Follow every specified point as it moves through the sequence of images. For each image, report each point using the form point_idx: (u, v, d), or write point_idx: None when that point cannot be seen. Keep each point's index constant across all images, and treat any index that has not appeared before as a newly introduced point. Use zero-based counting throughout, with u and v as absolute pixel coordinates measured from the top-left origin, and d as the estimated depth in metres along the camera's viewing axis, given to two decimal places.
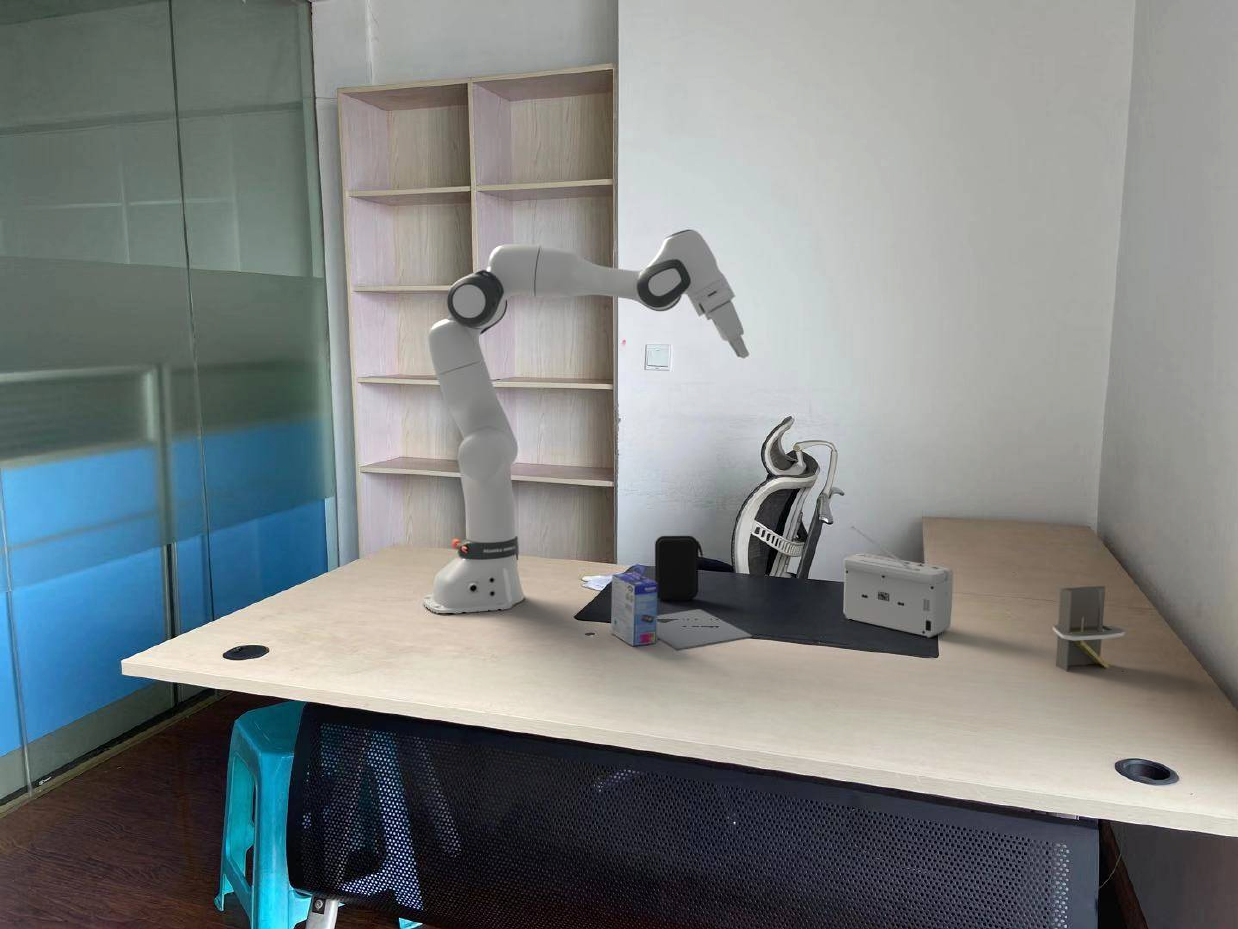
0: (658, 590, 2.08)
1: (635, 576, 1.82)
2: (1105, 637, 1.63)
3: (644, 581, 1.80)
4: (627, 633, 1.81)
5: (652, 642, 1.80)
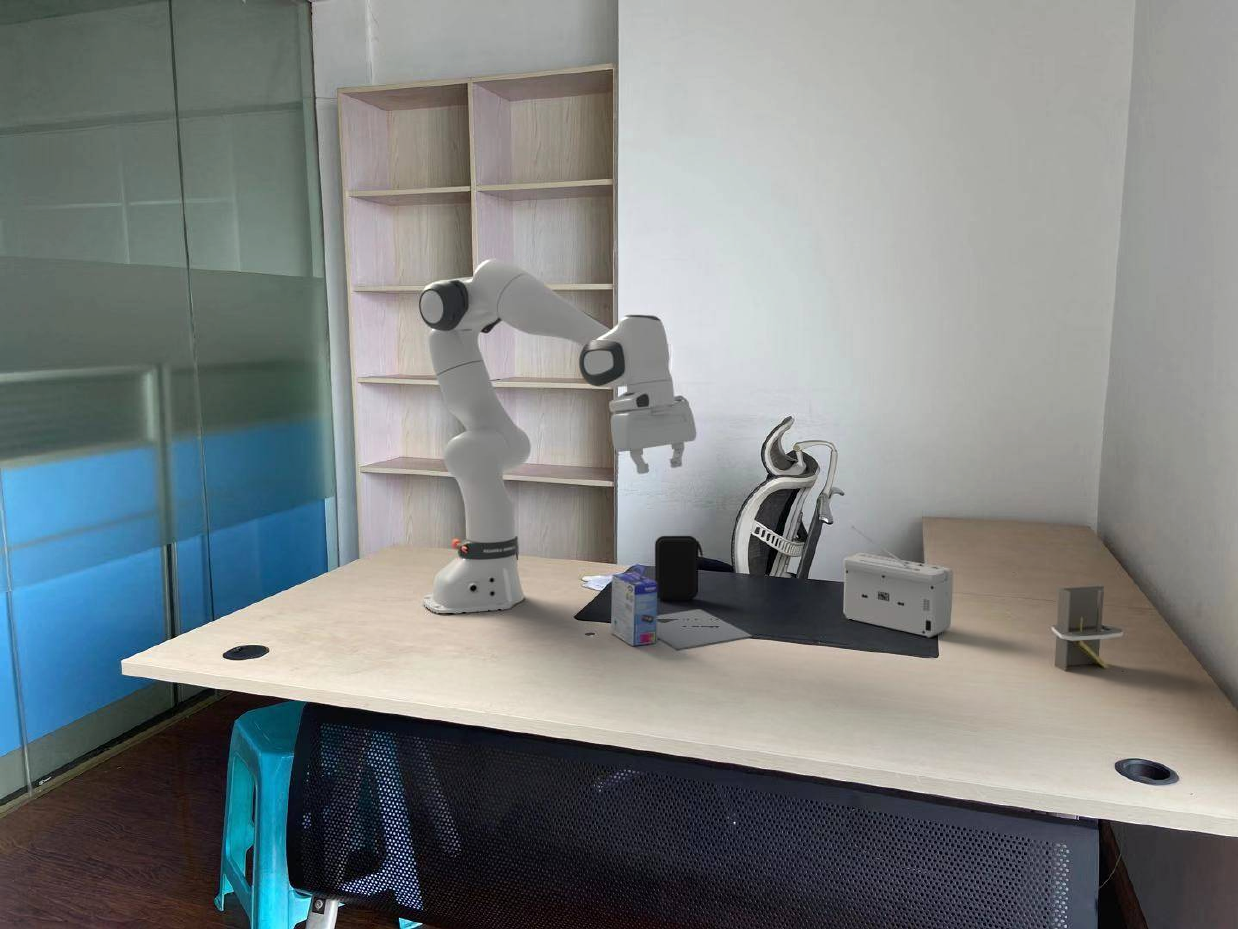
0: (658, 590, 2.08)
1: (635, 576, 1.82)
2: (1104, 637, 1.63)
3: (644, 581, 1.80)
4: (627, 633, 1.81)
5: (652, 642, 1.80)
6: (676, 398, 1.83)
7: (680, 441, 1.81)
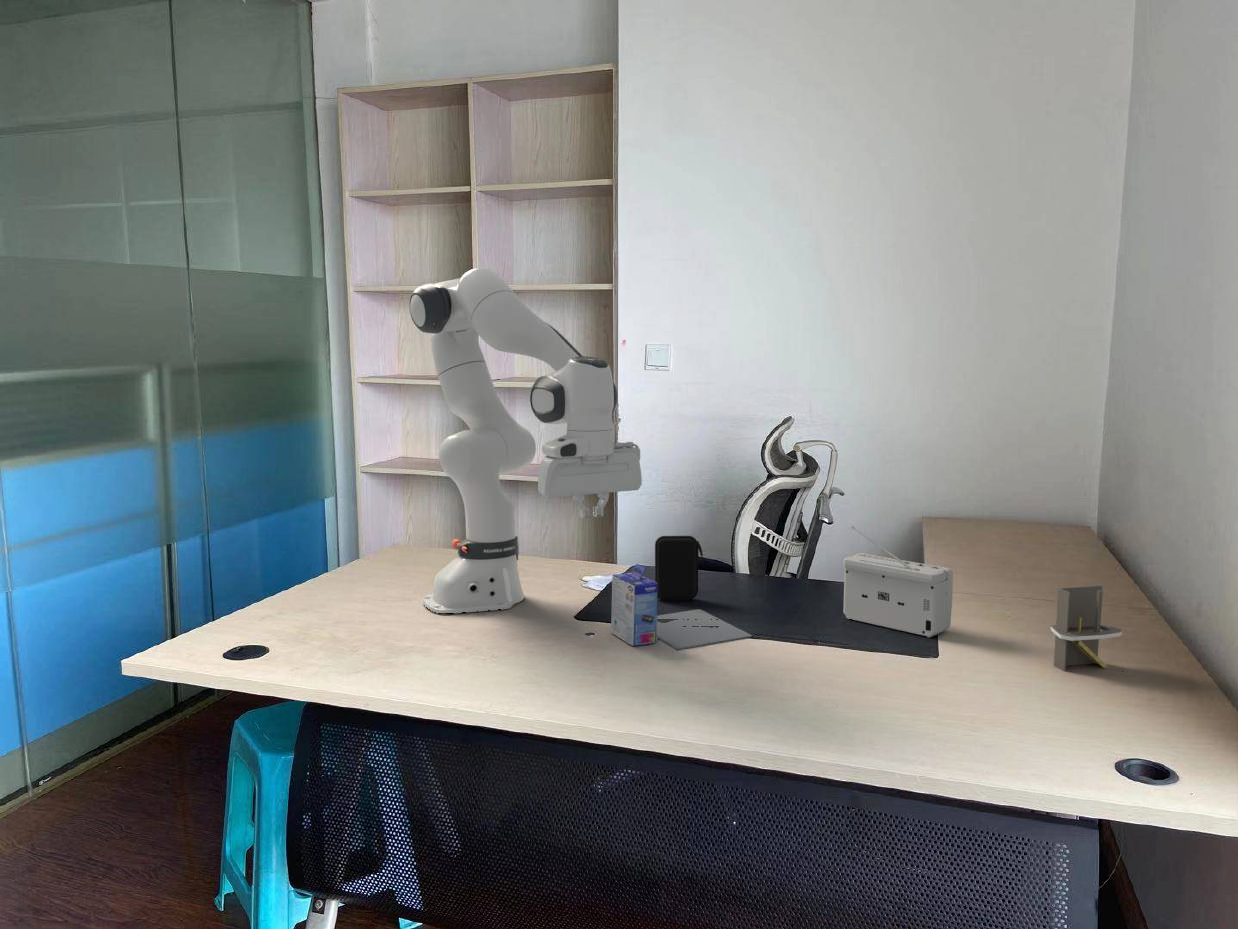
0: (658, 590, 2.08)
1: (635, 576, 1.82)
2: (1103, 637, 1.63)
3: (644, 581, 1.80)
4: (627, 633, 1.81)
5: (652, 642, 1.80)
6: (623, 445, 1.77)
7: (618, 490, 1.76)
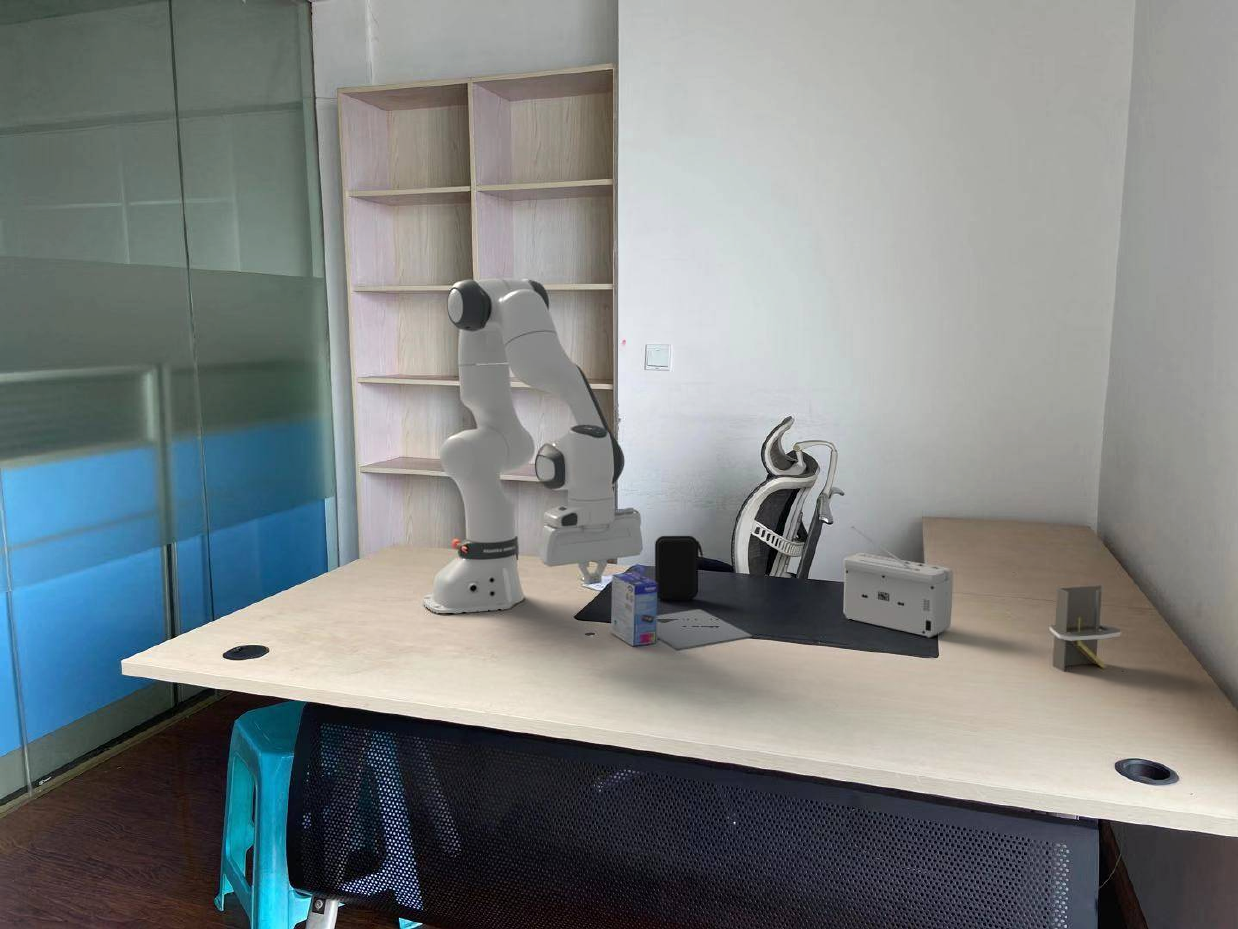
0: (658, 590, 2.08)
1: (635, 576, 1.82)
2: (1102, 637, 1.63)
3: (644, 581, 1.80)
4: (627, 633, 1.81)
5: (652, 642, 1.80)
6: (623, 511, 1.79)
7: (619, 556, 1.78)
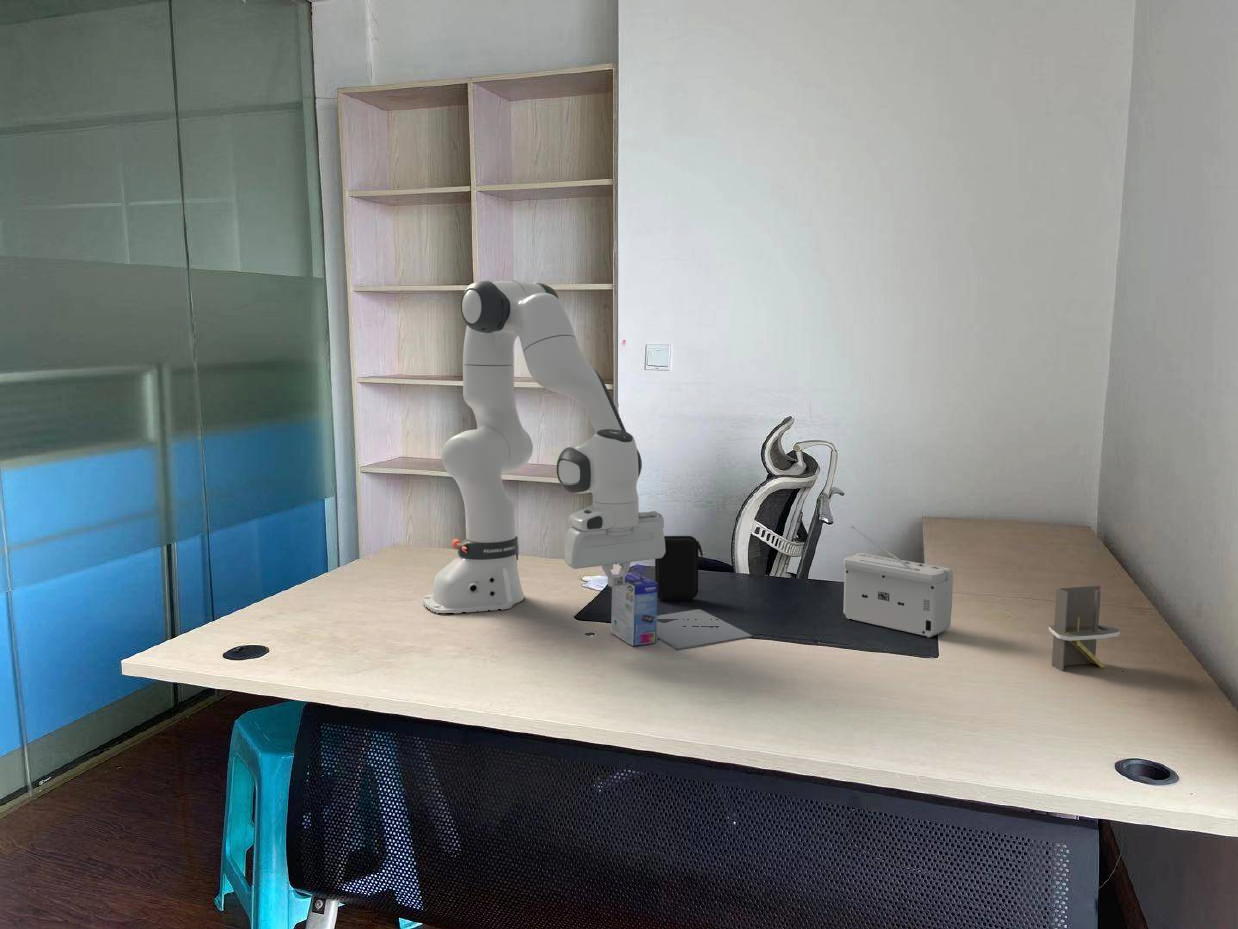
0: (658, 590, 2.08)
1: (635, 576, 1.82)
2: (1101, 637, 1.63)
3: (644, 581, 1.80)
4: (627, 633, 1.81)
5: (652, 642, 1.80)
6: (647, 515, 1.81)
7: (642, 559, 1.80)
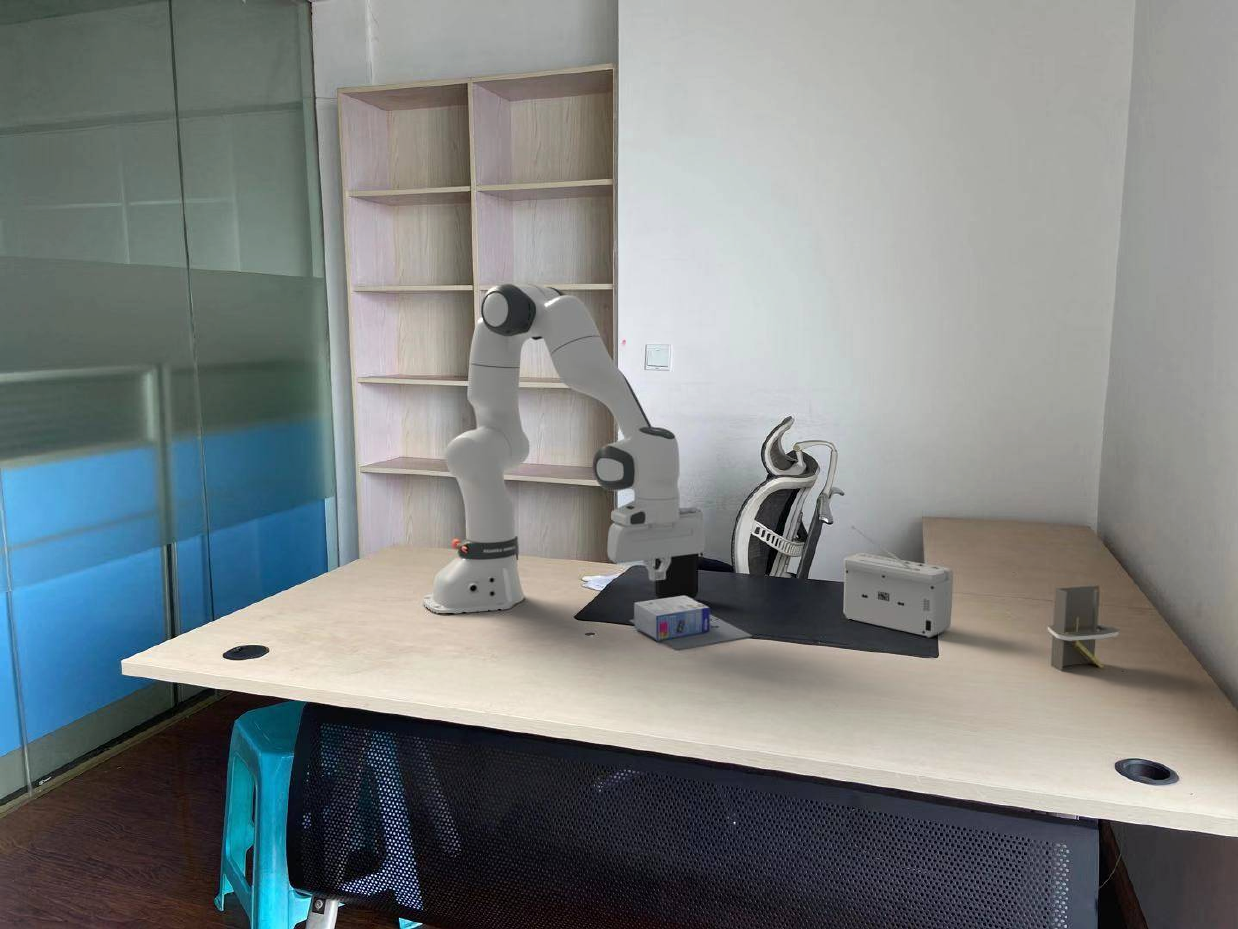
0: (658, 590, 2.08)
1: None
2: (1100, 637, 1.63)
3: None
4: (659, 610, 1.83)
5: (658, 636, 1.81)
6: (687, 510, 1.85)
7: (682, 554, 1.84)
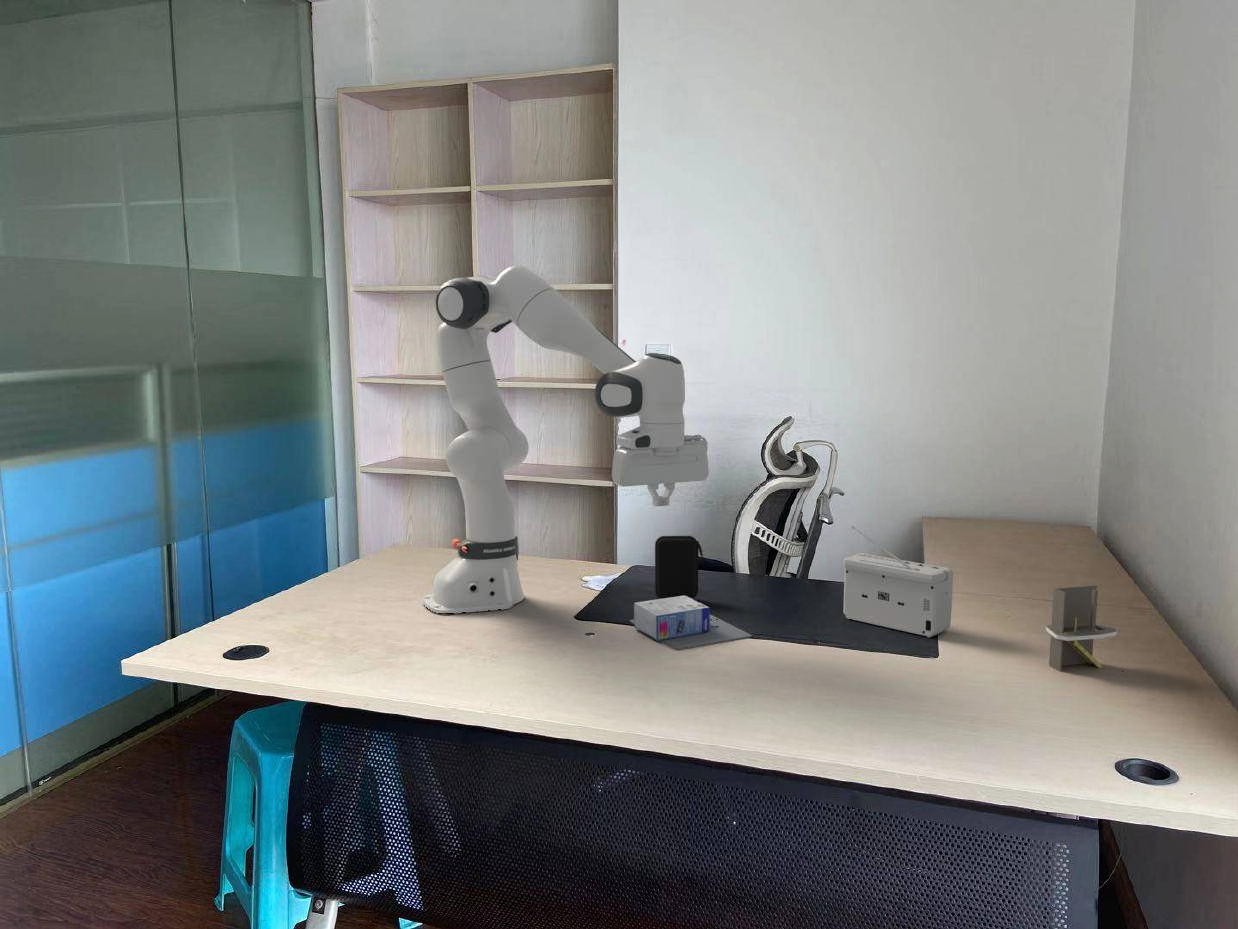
0: (658, 590, 2.08)
1: None
2: (1098, 637, 1.63)
3: None
4: (659, 610, 1.83)
5: (658, 636, 1.81)
6: (692, 437, 1.86)
7: (686, 480, 1.86)
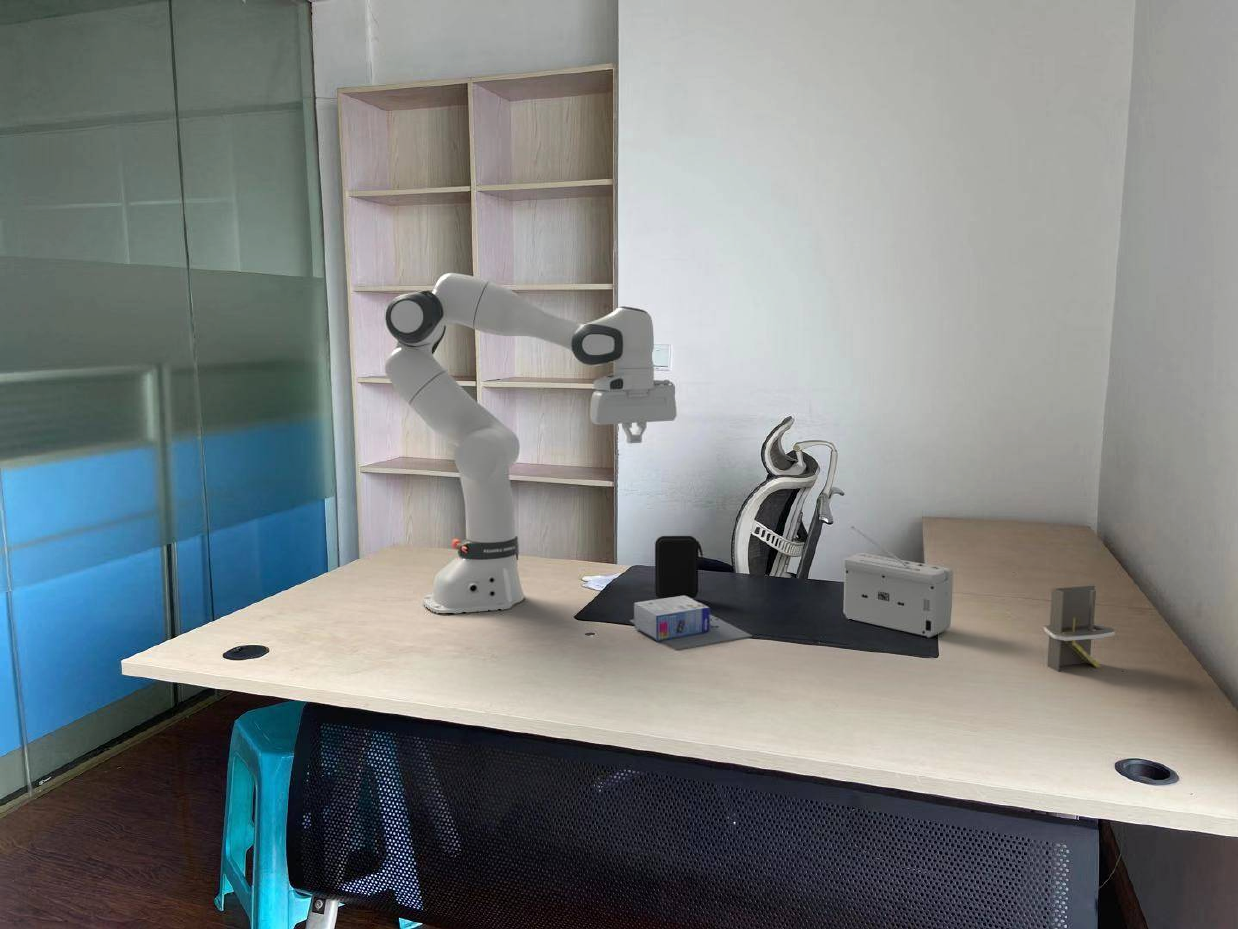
0: (658, 590, 2.08)
1: None
2: (1096, 637, 1.63)
3: None
4: (659, 610, 1.83)
5: (658, 636, 1.81)
6: (661, 382, 2.10)
7: (657, 420, 2.09)
